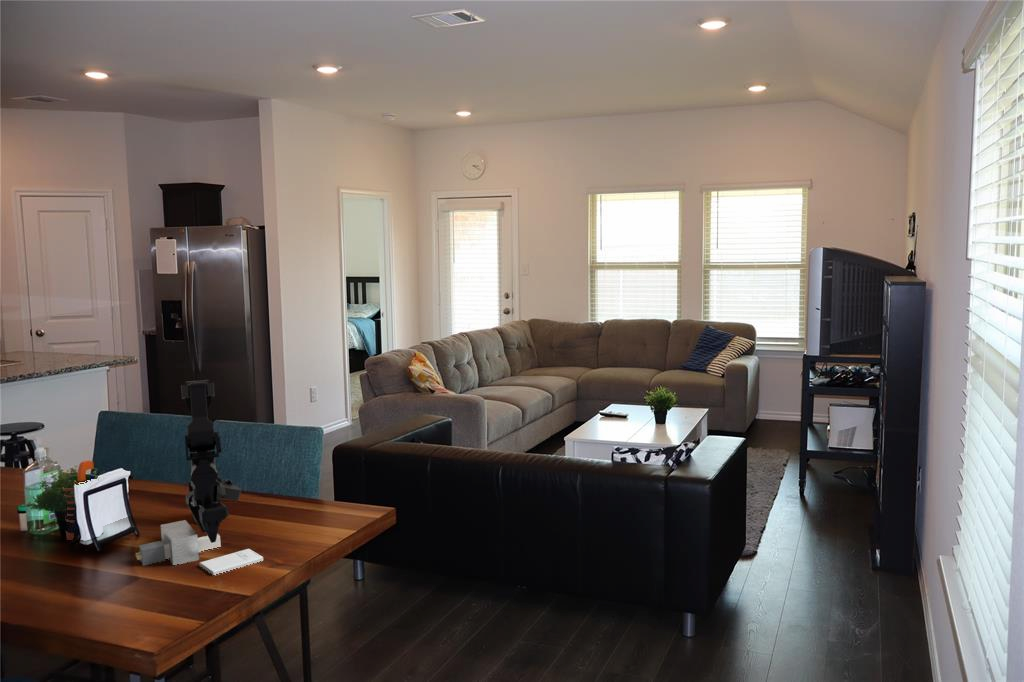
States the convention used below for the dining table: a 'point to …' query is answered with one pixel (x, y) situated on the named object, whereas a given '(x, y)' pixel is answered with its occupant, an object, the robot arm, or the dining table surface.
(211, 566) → the external hard drive
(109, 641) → the dining table surface
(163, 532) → the block
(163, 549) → the cable plug
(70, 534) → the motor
